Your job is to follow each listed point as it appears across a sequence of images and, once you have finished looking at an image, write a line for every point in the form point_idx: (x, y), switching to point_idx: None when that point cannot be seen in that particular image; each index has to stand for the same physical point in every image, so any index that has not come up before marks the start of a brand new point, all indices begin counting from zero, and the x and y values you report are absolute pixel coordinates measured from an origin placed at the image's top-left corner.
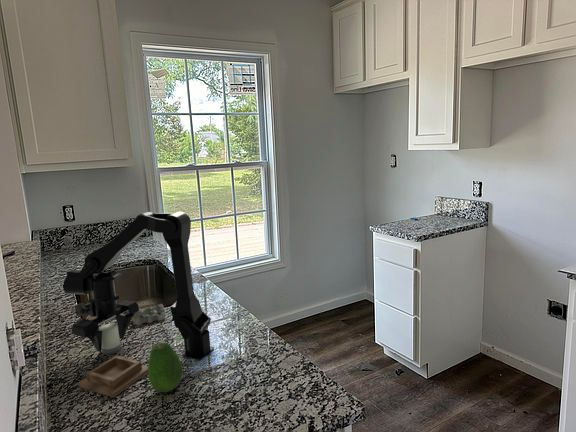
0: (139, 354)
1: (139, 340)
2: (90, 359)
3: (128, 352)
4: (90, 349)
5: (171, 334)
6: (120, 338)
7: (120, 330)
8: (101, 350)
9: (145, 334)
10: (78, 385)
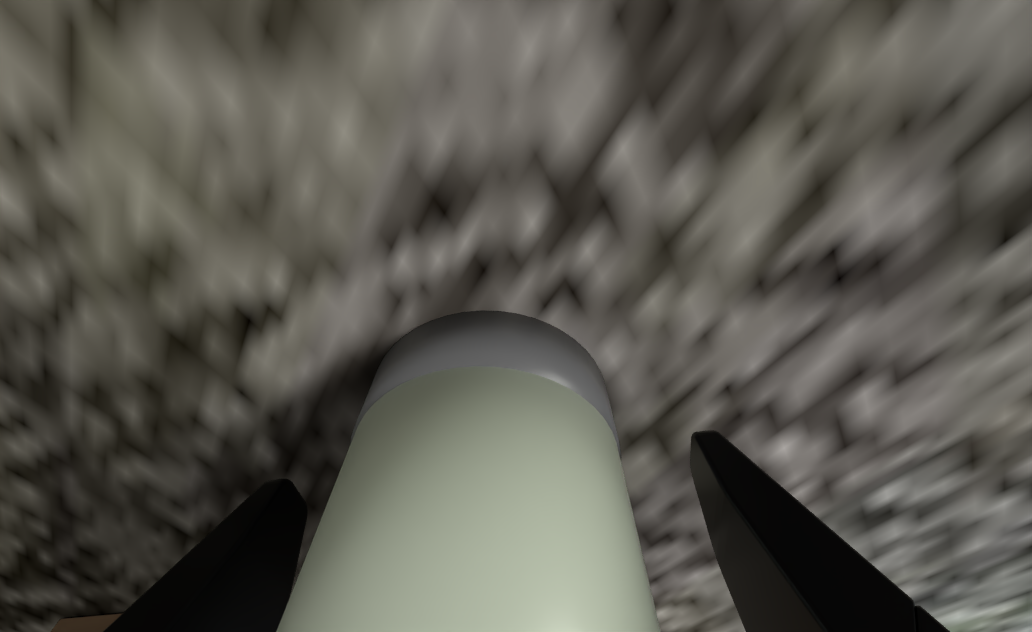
0: None
1: (814, 472)
2: (209, 396)
3: None
4: (279, 123)
5: (997, 589)
6: (691, 444)
7: (763, 603)
8: (368, 393)
9: (995, 420)
10: (55, 628)
